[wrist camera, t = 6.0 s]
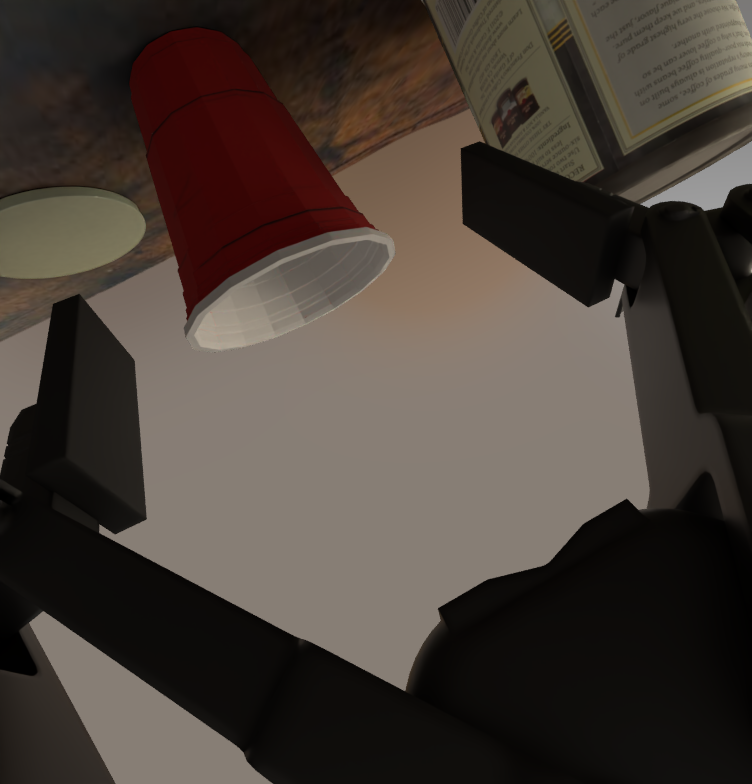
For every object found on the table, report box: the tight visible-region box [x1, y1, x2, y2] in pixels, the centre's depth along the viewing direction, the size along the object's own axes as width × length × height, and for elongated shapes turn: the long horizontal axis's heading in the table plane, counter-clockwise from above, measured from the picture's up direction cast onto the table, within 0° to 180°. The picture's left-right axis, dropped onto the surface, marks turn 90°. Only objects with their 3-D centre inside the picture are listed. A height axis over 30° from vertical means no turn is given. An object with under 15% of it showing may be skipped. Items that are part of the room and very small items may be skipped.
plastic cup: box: [129, 27, 395, 352], centre depth 20 cm, size 11×11×12 cm
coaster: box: [0, 187, 146, 279], centre depth 27 cm, size 10×10×1 cm
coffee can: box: [421, 0, 752, 204], centre depth 19 cm, size 10×10×14 cm
